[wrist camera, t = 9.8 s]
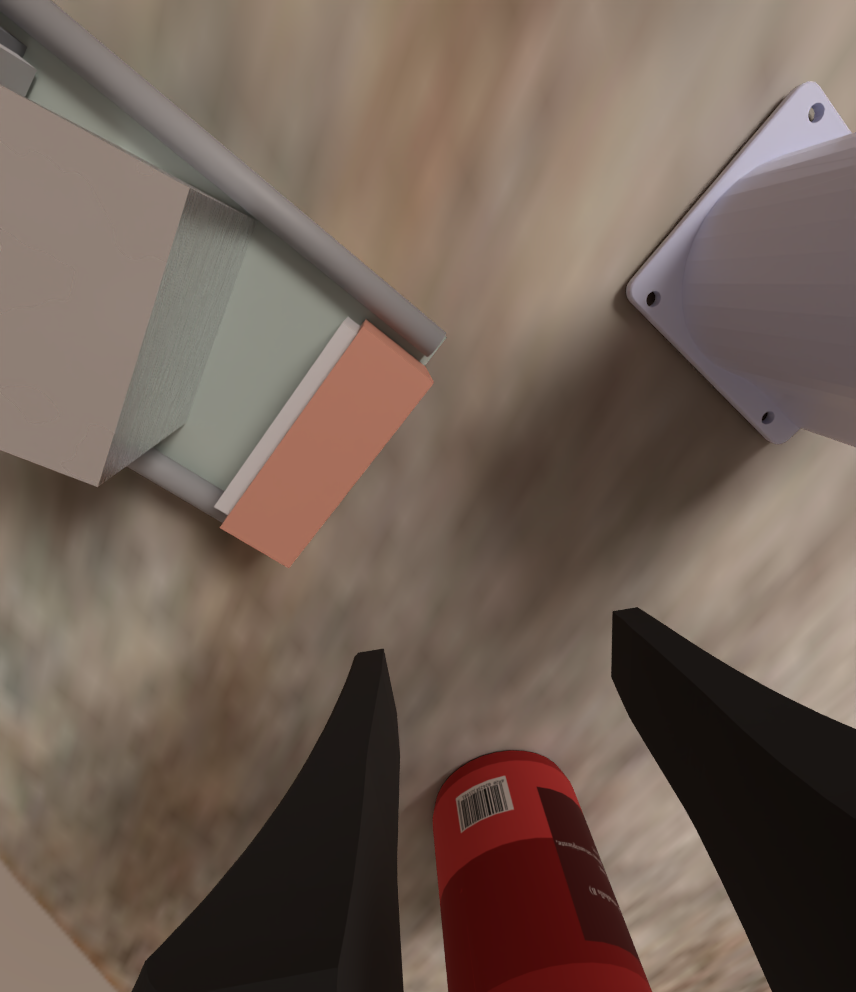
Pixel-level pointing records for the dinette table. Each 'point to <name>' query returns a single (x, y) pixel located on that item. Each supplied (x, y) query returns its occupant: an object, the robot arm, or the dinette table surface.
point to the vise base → (264, 271)
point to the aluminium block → (102, 294)
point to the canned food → (525, 884)
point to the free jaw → (322, 440)
